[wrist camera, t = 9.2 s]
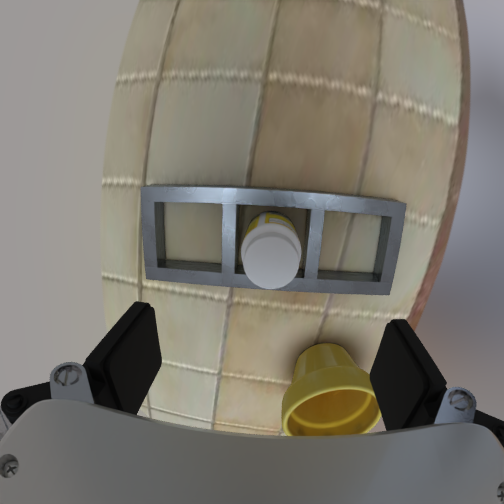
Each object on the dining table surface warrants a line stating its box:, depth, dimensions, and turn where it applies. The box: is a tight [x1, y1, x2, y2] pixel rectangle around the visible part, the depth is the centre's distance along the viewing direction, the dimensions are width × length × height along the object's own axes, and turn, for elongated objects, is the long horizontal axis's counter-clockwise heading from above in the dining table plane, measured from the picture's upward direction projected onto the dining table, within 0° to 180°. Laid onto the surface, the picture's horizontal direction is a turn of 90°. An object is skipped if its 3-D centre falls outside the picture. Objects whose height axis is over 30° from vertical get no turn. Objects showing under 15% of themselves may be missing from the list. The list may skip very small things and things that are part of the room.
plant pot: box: [282, 343, 382, 436], centre depth 28 cm, size 10×10×10 cm
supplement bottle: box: [241, 211, 301, 289], centre depth 24 cm, size 5×5×8 cm
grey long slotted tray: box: [141, 185, 406, 295], centre depth 27 cm, size 9×25×2 cm, turn 88°
